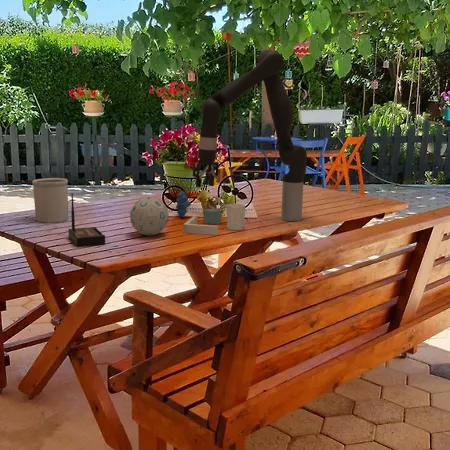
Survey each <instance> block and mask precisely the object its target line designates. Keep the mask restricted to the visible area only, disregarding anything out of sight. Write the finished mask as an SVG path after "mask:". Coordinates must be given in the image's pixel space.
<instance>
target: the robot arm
mask: <svg viewBox="0 0 450 450" xmlns="http://www.w3.org/2000/svg"><path fill="white" fill-rule="evenodd" d="M284 63H285V61H284V57H283V56H282V54H281V53H279V52H277V51H275V50H269V49H267V50H262V51H261V52H260V53H259V54H258V57H257V65H256V66H255V67H254V68H252V69H251V70H249V71H248V72H246V73H244V74H242V75H240V76H238V77H237V78H235V79H233V80H231V81H230V82H229V83H227V84H226V85H225V86H224V87H222V88H221V89H220V90H219V91H218V92H216V93H215V94H213V95H212V96H210V97H208V98H207V99H205V100H204V101H203V102H202V104H201V106H200V111H201V113H202V121H201V122H202V123H201V125H200V131H199V141H198V150H197V151H198V153H197V159H199V161H198V162H197V161H196V162H193V169H192V177H193V178H194V177H195V187H196V188H201V187H202V181H203V180H202V178H203V175H205V174H207V173H208V176H209V179H208V186H209V187H214V185H215V178H216V177H217V176H219V166H220V165H219V164H220V163H219V161H216V158H217V148H218V147H217V146H218V143H217V141H218V140H217V139H218V138H217V135H218V124H219V118H220V112H221V110H222V109H223V108H225V107H226V106H228V105H231V104H232V103H234V102H235V101H236V100H237V99H239V98H240V97H241V96H243V95H244V94H245V93H246V92H248V91H249V90H250V89H252V88H253V87H255V86H256V85H258V84H259V83H261V82H262V81H263V83H264V84H263V85H264V87H265V91H266V97H267V102H268V107H269V112H270V116H271V119H272V121H273V122H272V123H273V126H274V131H275V135H276V140H277V147H278V154H279V158H280V159H279V160H280V161H281V162H282V163H281V164H283V165H286V166H289V171H287V173H284V174H283V175H282V190H281V191H282V192H281V216H280V219H281V220H282V221H287V222H298V221H302V220H303V199H304V181H305V180H304V179H305V176H306V172H307V162H308V156H307V155H308V153H307V150H306V148H305V147H304V146H302V145H297V144H293V139H292V136H291V128H292V124H293V121H294V111H293V108H292V107H293V106H292V103H291V100H290V97H289V95H288V93H287V90H286V89H285V87H284V85H283V82H282V79H281V76H280V72H281V70H282V69H283V67H284Z"/></svg>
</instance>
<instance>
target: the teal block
mask: <svg viewBox="0 0 450 450" xmlns="http://www.w3.org/2000/svg"><path fill="white" fill-rule="evenodd" d="M203 223H205V224H207V223H208V224H207V225H217V224H222V211H221V210H220V209H216V208H209V209H204V210H203Z"/></svg>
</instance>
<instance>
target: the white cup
mask: <svg viewBox="0 0 450 450" xmlns="http://www.w3.org/2000/svg"><path fill="white" fill-rule="evenodd" d="M225 206H226V223H227V224H226V225H227V230H228V231H229V230H230V231H242V230H244V227H245V217H246V204H244V203H228V204H226V205H225Z"/></svg>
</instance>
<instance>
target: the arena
mask: <svg viewBox="0 0 450 450" xmlns="http://www.w3.org/2000/svg"><path fill="white" fill-rule="evenodd" d="M182 231H183V232H182V233H183V234H193V235H207V236H208V235H209V236H218V235H219V225H214V224H211V225H210V224H198V216H196V215H193V216H191V218H189V219H188V220H186V222H184V224H183V225H182Z"/></svg>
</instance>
